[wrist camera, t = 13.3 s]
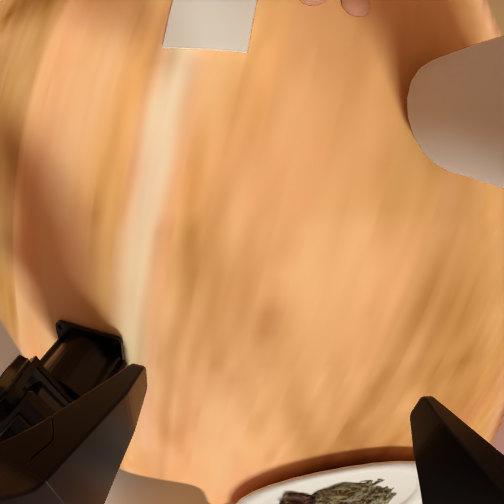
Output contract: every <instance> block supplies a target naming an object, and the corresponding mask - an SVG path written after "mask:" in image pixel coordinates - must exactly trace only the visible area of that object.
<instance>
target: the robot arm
mask: <svg viewBox="0 0 504 504" xmlns="http://www.w3.org/2000/svg"><path fill="white" fill-rule="evenodd" d="M61 326H62V327H61ZM56 330H57V335H58V340H57V341H56V342H55V343H54V344H53V346H52V347H51V348H50V349H49V350H48V351H47V353H46V354H45V355H44V356H43V357H42V358H41V360H39V359H38V358H37V356H34V357H33V358H31V359H30V360H29V359H28V358H25V357H23V356H21V355H19V356H17V357H16V358H15V359H14V360H13V362H12V363H11V364H10V365H9V366H8V367H7V369H6V370H5V371H4V372H3V373H2V375H1V376H0V504H104V503H105V501H106V498H107V496H108V493H109V491H110V488H111V486H112V484H113V481H114V479H115V476H116V474H117V472H118V469H119V467H120V464H121V462H122V460H123V457H124V455H125V453H126V450H127V448H128V446H129V443H130V441H131V439H132V436H133V434H134V431H135V428H136V425H137V421H138V418H139V414H140V411H141V407H142V404H143V401H144V397H145V394H146V390H147V377H146V368H145V367H144V366H142V365H138V364H131V365H129V366H127V362H126V361H125V357H124V347H123V341H122V339H121V338H120V337H118V336H114V335H110V334H107V333H103V332H99V331H96V330H92V329H89V328H85V327H82V326H79V325H75V324H72V323H69V322H65V321H62V320H59V321H58V322H57V323H56ZM116 342H117V343H118V344H117V343H116ZM410 422H411V431H412V441H413V451H414V458H415V464H416V469H417V474H418V480H419V486H420V492H421V499H422V504H504V455H503V454H502V453H500V452H499V451H498V450H496V448H494V447H493V446H492V445H491V444H490V443H488V442H487V441H486V440H485V439H483V438H482V437H481V436H480V435H479V434H477V433H476V432H475V431H474V430H473V429H471V428H470V427H469V426H468V425H467V424H465V423H464V422H463V421H462V420H461V419H459V418H458V417H457V416H456V415H454V414H453V413H452V412H451V411H450V410H448V409H447V408H446V407H445V406H444V405H442V404H441V403H440V402H439V401H437V400H436V399H435V398H434V397H432V396H424V397H421V398H420V399H419V401H418V403H417V404H416V406H415V407H414V409H413V410H412V412H411V415H410Z"/></svg>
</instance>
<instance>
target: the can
mask: <svg viewBox="0 0 504 504" xmlns="http://www.w3.org/2000/svg"><path fill="white" fill-rule="evenodd" d="M407 110H408V120H409V123H410V126H411V129H412V133H413V136H414V138H415V140H416V141H417V143H418V144H419V146H420V148H421V149H422V151H423V153H424V154H425V155H426V156H427V157H428V158H429V159H430V160H432V161H433V162H434V163H435V164H436V165H437V166H439V167H441V168H443V169H445V170H448V171H450V172H453V173H456V174H459V175H463V176H466V177H470V178H473V179H476V180H479V181H482V182H485V183H489V184H492V185H495V186H498V187H500V188H503V189H504V36H501V37H497V38H494V39H491V40H488V41H484V42H481V43H478V44H475V45H472V46H469V47H466V48H464V49H461V50H458V51H455V52H452V53H450V54H447V55H444V56H441V57H439V58H436V59H434V60H431V61H430V62H428V63H427V64H425V65H424V66H422V67H421V68H419V70H418V71H417V73H416V74H415V76H414V77H413V79H412V81H411V83H410V88H409V92H408V96H407Z"/></svg>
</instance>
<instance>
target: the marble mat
mask: <svg viewBox="0 0 504 504" xmlns="http://www.w3.org/2000/svg"><path fill="white" fill-rule="evenodd" d="M300 1H301V2H302V3H304V4H307V5H311V6H315V5H319V4H321V3H322V2H324V0H300ZM256 4H257V0H173V2H172V6H171V11H170V15H169V19H168V24H167V28H166V33H165V37H164V42H163V48H164V49H202V50H218V51H231V52H241V53H248V48H249V42H250V36H251V31H252V25H253V20H254V14H255V9H256ZM342 6H343V8H344V9H345V10H346V11H347V12H348V13H349V14H351V15H354V16H364V15H366V14H367V13H368V12H369V10H370V4H369V2H368V0H342Z"/></svg>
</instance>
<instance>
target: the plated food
mask: <svg viewBox="0 0 504 504" xmlns="http://www.w3.org/2000/svg"><path fill="white" fill-rule="evenodd" d="M236 504H422V499H421V492H420V486H419V480H418V474H417V469H416V464H415V461H389V462H376V463H368V464H362V465H354V466H347V467H342V468H337V469H331V470H326V471H320V472H316V473H312V474H308V475H303V476H299V477H294V478H291V479H287V480H284V481H281V482H277V483H274V484H270V485H268V486H265V487H263V488H260V489H258V490H255V491H253V492H251V493H249V494H247V495H246V496H244V497H242V498H241V499H240V500H239V501H238V502H237V503H236Z"/></svg>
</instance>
